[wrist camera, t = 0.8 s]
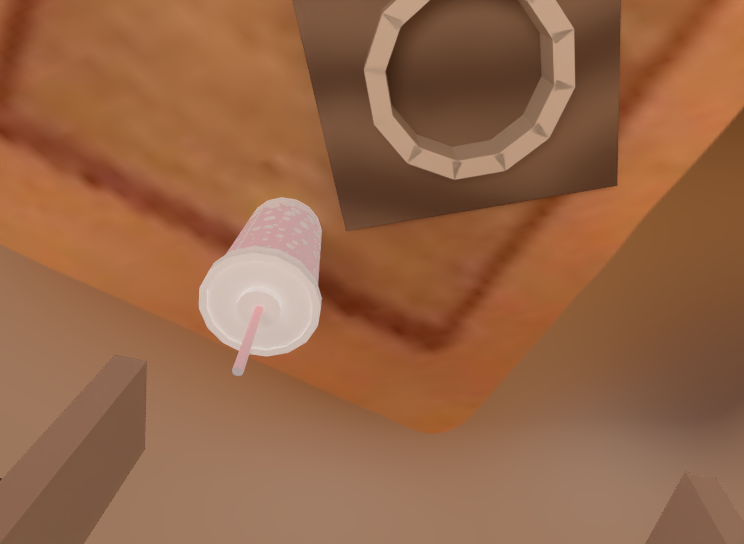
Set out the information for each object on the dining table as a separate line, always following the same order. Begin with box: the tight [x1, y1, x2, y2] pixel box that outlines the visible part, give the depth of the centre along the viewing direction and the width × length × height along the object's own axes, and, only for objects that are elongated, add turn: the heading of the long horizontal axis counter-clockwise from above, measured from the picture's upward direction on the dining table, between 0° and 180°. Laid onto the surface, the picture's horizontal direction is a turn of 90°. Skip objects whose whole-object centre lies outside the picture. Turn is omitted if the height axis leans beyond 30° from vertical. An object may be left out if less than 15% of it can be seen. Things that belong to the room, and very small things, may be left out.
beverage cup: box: [199, 197, 322, 376], centre depth 30 cm, size 6×6×14 cm
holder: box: [293, 0, 621, 231], centre depth 31 cm, size 16×16×2 cm
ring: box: [364, 0, 575, 180], centre depth 29 cm, size 10×10×2 cm
